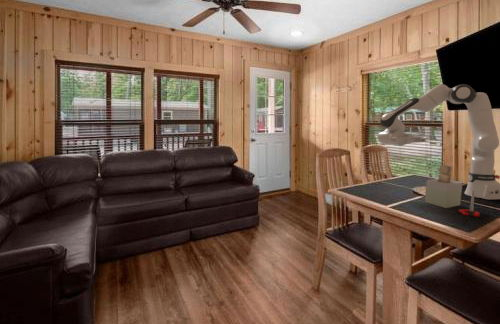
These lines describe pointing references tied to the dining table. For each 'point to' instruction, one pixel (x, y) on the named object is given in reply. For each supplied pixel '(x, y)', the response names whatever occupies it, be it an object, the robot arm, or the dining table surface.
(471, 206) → the red base grey post
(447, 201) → the white tissue box
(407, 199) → the dining table surface
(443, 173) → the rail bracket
